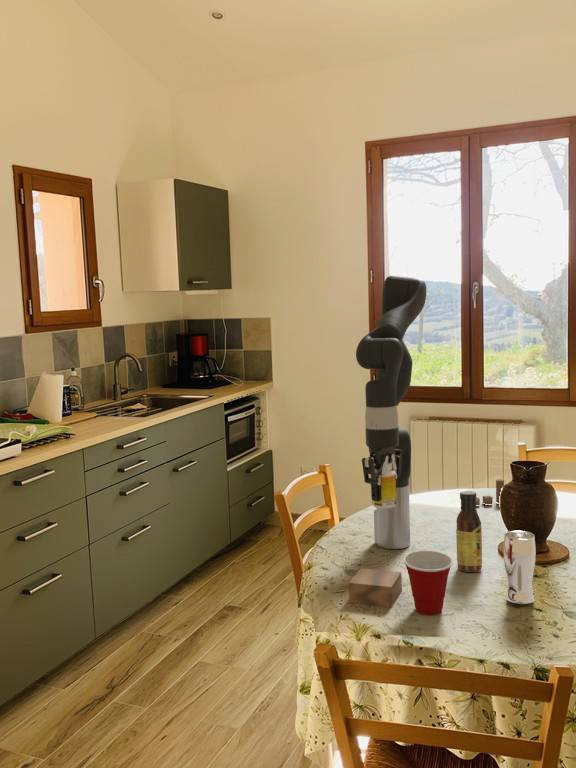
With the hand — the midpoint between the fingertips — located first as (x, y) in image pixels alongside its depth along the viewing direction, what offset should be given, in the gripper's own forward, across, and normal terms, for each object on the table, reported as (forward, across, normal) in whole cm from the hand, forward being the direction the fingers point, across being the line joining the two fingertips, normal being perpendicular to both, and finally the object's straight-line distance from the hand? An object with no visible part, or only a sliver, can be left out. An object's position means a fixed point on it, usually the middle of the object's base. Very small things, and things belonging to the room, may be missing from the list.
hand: (383, 497), depth 173 cm
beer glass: (+24, +15, -26) cm, 38 cm away
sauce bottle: (+24, +27, -8) cm, 37 cm away
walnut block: (+24, -2, +2) cm, 24 cm away
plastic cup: (+24, -2, -12) cm, 27 cm away
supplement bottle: (+2, 0, 0) cm, 2 cm away
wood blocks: (+24, +78, +13) cm, 82 cm away
